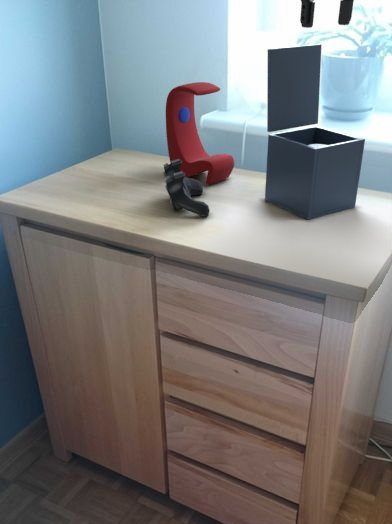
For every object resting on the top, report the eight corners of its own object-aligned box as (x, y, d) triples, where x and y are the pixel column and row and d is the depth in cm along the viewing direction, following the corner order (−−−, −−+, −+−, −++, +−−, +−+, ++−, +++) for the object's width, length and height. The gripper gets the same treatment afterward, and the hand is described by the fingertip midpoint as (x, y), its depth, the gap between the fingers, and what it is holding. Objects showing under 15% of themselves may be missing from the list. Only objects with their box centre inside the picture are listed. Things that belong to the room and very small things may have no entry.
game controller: (177, 204, 124) (154, 164, 118) (204, 188, 122) (182, 148, 117) (182, 232, 110) (156, 189, 105) (213, 215, 109) (188, 171, 104)
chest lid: (321, 44, 108) (318, 44, 108) (270, 49, 102) (267, 49, 103) (318, 123, 115) (315, 123, 116) (269, 132, 110) (267, 131, 110)
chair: (167, 174, 133) (163, 83, 122) (188, 167, 138) (186, 78, 126) (213, 187, 125) (214, 90, 114) (234, 179, 129) (236, 85, 118)
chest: (355, 207, 113) (365, 139, 106) (307, 219, 108) (315, 149, 100) (310, 189, 123) (316, 125, 115) (264, 200, 118) (268, 134, 110)
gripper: (320, -95, 83) (308, 30, 92) (387, -92, 89) (370, 25, 98) (288, -91, 88) (280, 26, 98) (353, -89, 94) (340, 22, 104)
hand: (325, 26), depth 98 cm, fingers open, 8 cm apart
